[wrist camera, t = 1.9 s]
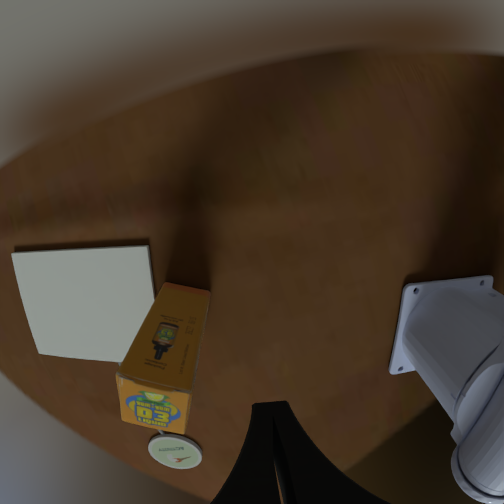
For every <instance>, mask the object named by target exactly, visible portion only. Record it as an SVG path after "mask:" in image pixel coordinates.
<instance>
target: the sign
mask: <svg viewBox="0 0 504 504" xmlns="http://www.w3.org/2000/svg"><path fill="white" fill-rule="evenodd" d="M118 364H119V365H121V363H120V362H118ZM158 430H159V429H158ZM159 432H160V433H161V435H157V436H155V437H153V438H152V439H151V440H150V443H149V446H148V449H149V452H150V454H151V455H152V457H153V458H154V459H156V460H157V461H158V462H160V463H162V464H164V465H166V466H169V467H173V468H178V469H187V468H192V467H195V466H197V465H198V464H199V463H200V462H201V459H202V451H201V449H200V447H199V446H198V445H197V444H196V443H195V442H193V441H192V440H190V439H188V438H185V437H183V436H179V435H174V434H165V433H164V432H163V430H159Z"/></svg>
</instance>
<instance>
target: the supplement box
mask: <svg viewBox="0 0 504 504" xmlns="http://www.w3.org/2000/svg"><path fill="white" fill-rule="evenodd" d="M210 297H211V293H210V292H209V291H208V290H203V289H197V288H193V287H188V286H183V285H178V284H173V283H169V282H165V283H164V284H163V286H162V288H161V290H160V291H159V293H158V295H157V297H156V299H155V301H154V303H153V304H152V306H151V308H150V310H149V312H148V314H147V316H146V317H145V319H144V321H143V323H142V325H141V327H140V329H139V331H138V333H137V335H136V336H135V338H134V340H133V342H132V344H131V346H130V348H129V350H128V352H127V354H126V356H125V358H124V360H123V361H122V363H121V365H120V367H119V368H118V370H117V372H116V382H117V387H118V394H119V400H120V405H121V416H122V420H123V421H125V422H129V423H133V424H138V425H142V426H146V427H150V428H155V429H159V430H164V431H169V432H174V433H179V434H184V433H185V431H186V427H187V422H188V417H189V412H190V405H191V399H192V394H193V388H194V382H195V376H196V370H197V365H198V360H199V355H200V349H201V344H202V338H203V333H204V328H205V323H206V317H207V312H208V307H209V302H210Z"/></svg>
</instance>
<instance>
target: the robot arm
mask: <svg viewBox="0 0 504 504" xmlns="http://www.w3.org/2000/svg"><path fill="white" fill-rule="evenodd" d="M481 281H482V282H481ZM480 282H481V283H480ZM492 285H493V277H492V276H490V275H485V276H477V277H468V278H459V279H450V280H440V281H430V282H420V283H409V284H407V285H405V287H404V288H403V293H402V300H401V307H400V313H399V319H398V325H397V330H396V336H395V341H394V346H393V351H392V356H391V360H390V365H389V372H390V373H391V374H399V373H404V372H409V371H414V370H416V371H417V372H418V373H419V375H420V376H421V377H422V379H423V380H424V381H425V383H426V384H427V385H428V387H429V388H430V390H431V391H432V392H433V394H434V395H435V396H436V398H437V399H438V401H439V402H440V403H441V405H442V406H443V408H444V409H445V410H446V412H447V413H448V415H449V416H450V417H451V419H452V420H453V422H454V428H453V430H452V432H451V435H452V437H453V439H454V440H455V442H456V443H457V447H456V449H455V450H454V452H453V455H452V459H451V467H452V472H453V475H454V477H455V480H456V481H457V483H458V485H459V486H460V487H461V488H462V490H463V491H464V492H465V493H467V494H468V495H469V496H470V497H472V498H474V499H475V500H477V501H480V502H483V503H487V504H504V295H502V294H501V293H499V292H497V291H496V290H494V289H493V288H492ZM415 288H417V290H416V291H415V292H413V291H414V289H415ZM399 367H401V368H399ZM398 368H399V369H398ZM274 463H275V465H274ZM275 467H276V472H277V476H278V480H279V484H280V488H281V493H282V497H283V502H284V504H391V503H389V502H387V501H384V500H383V499H381V498H379V497H377V496H375V495H374V494H372V493H370V492H369V491H367V490H365V489H364V488H362V487H361V486H359V485H358V484H357V483H355V482H354V481H353V480H351V479H350V478H349V477H347V476H346V475H345V474H344V473H343V472H341V471H340V470H339V469H338V468H337V467H336V466H335V465H334V464H333V463H331V462H330V461H329V460H328V459H327V458H326V456H325V455H324V454H323V453H322V452H321V451H320V450H319V449H318V447H317V446H316V445H315V444H314V443H313V441H312V440H311V439H310V438H309V436H308V435H307V433H306V432H305V431H304V429H303V428H302V426H301V425H300V423H299V422H298V420H297V418H296V417H295V415H294V413H293V411H292V410H291V408H290V405H289V403H288V402H287V401H276V402H263V403H254V404H253V405H252V414H251V420H250V425H249V429H248V432H247V435H246V438H245V442H244V444H243V447H242V449H241V452H240V454H239V457H238V459H237V461H236V463H235V465H234V467H233V469H232V471H231V473H230V475H229V477H228V478H227V480H226V482H225V483H224V485H223V486H222V488H221V490H220V491H219V493H218V494H217V495H216V497H215V498H214V499H213V501H212V502H211V503H210V504H281V501H280V495H279V490H278V484H277V478H276V472H275Z"/></svg>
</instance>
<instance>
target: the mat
mask: <svg viewBox="0 0 504 504" xmlns="http://www.w3.org/2000/svg"><path fill="white" fill-rule="evenodd" d="M12 259H13V264H14V269H15V273H16V278H17V282H18V286H19V290H20V294H21V298H22V301H23V305H24V309H25V312H26V315H27V319H28V322H29V325H30V328H31V332H32V335H33V338H34V341H35V343H36V346H37V349H38V352H39V354H45V355H53V356H61V357H70V358H79V359H89V360H101V361H114V362H122V361H123V360H124V358H125V356H126V354H127V352H128V350H129V348H130V346H131V344H132V342H133V340H134V338H135V336H136V335H137V333H138V331H139V329H140V327H141V325H142V323H143V321H144V319H145V317H146V316H147V314H148V312H149V310H150V308H151V306H152V304H153V303H154V301H155V299H156V296H155V289H154V282H153V275H152V268H151V260H150V251H149V245H138V246H118V247H98V248H79V249H61V250H43V251H26V252H14V253H12Z"/></svg>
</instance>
